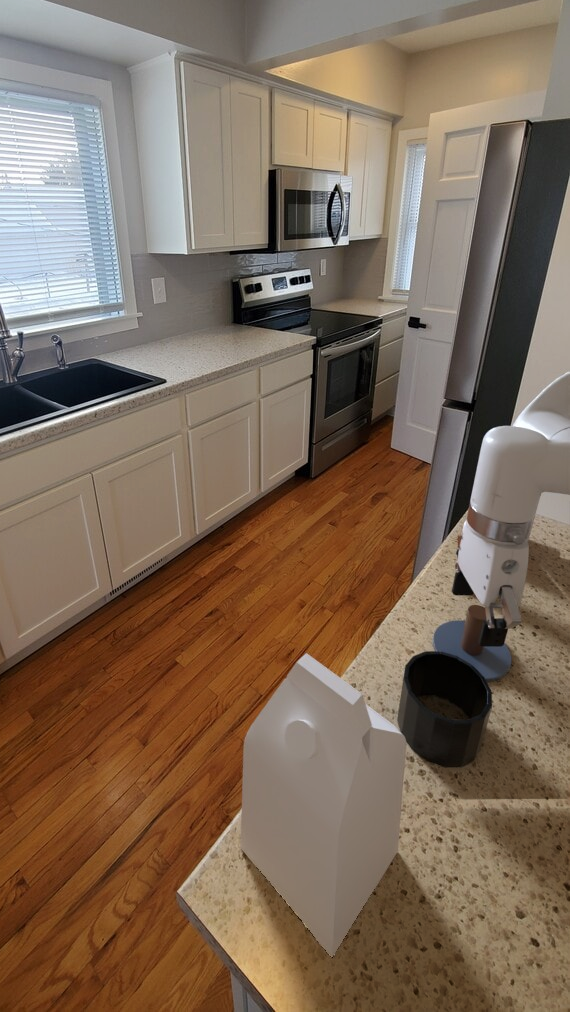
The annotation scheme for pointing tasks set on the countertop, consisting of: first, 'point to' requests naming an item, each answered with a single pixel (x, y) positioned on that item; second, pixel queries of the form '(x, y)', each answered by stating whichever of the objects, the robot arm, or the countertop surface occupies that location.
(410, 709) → the tin
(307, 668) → the milk
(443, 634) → the plate lid
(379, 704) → the countertop surface
